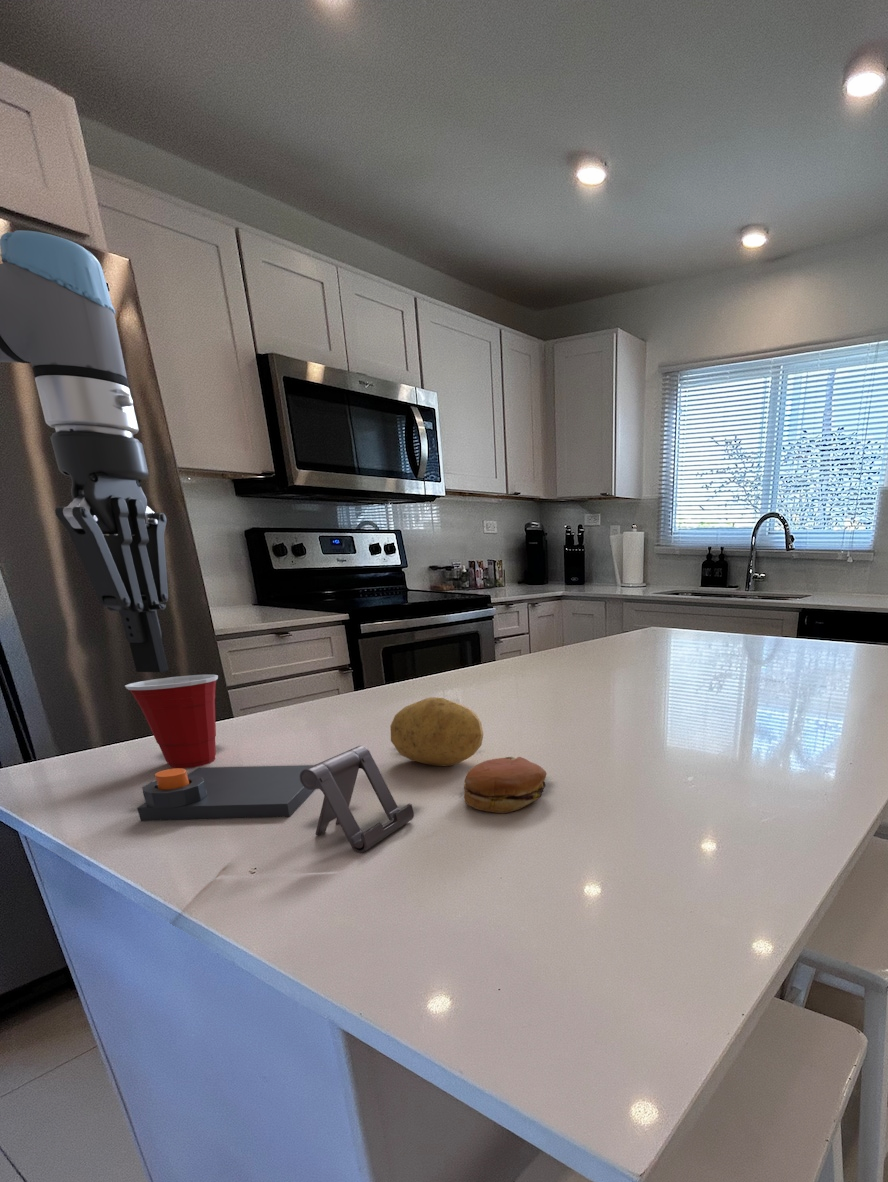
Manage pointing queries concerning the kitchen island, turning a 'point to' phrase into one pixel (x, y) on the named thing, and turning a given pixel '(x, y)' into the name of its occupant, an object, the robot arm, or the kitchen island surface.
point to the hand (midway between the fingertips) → (152, 670)
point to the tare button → (172, 778)
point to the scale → (228, 794)
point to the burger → (504, 784)
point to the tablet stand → (338, 788)
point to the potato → (436, 732)
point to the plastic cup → (180, 717)
